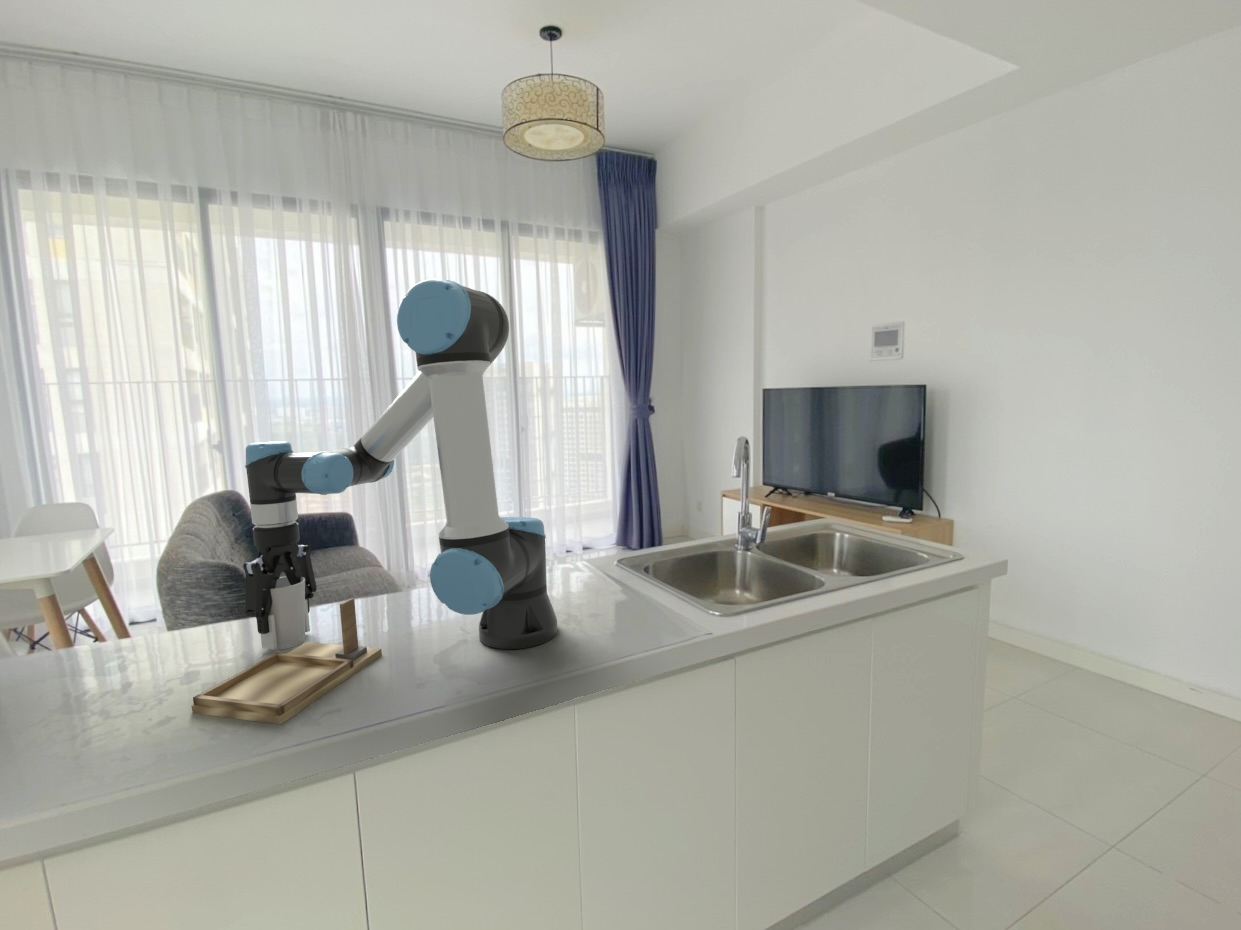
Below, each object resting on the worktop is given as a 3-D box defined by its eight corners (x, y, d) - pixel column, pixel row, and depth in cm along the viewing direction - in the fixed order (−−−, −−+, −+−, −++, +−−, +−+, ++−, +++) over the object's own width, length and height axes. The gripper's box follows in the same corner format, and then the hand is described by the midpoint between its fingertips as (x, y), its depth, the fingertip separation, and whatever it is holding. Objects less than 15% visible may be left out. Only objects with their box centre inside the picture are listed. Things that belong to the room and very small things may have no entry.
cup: (289, 652, 108) (283, 590, 106) (252, 649, 109) (246, 588, 108) (319, 635, 115) (314, 576, 114) (285, 633, 117) (279, 575, 116)
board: (381, 654, 106) (377, 595, 104) (281, 724, 84) (273, 650, 82) (307, 648, 110) (302, 590, 108) (192, 712, 87) (183, 641, 86)
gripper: (300, 512, 120) (309, 618, 123) (210, 535, 101) (224, 661, 103) (331, 513, 119) (340, 620, 121) (245, 536, 99) (259, 664, 102)
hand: (286, 639), depth 112 cm, fingers closed on cup, 7 cm apart
